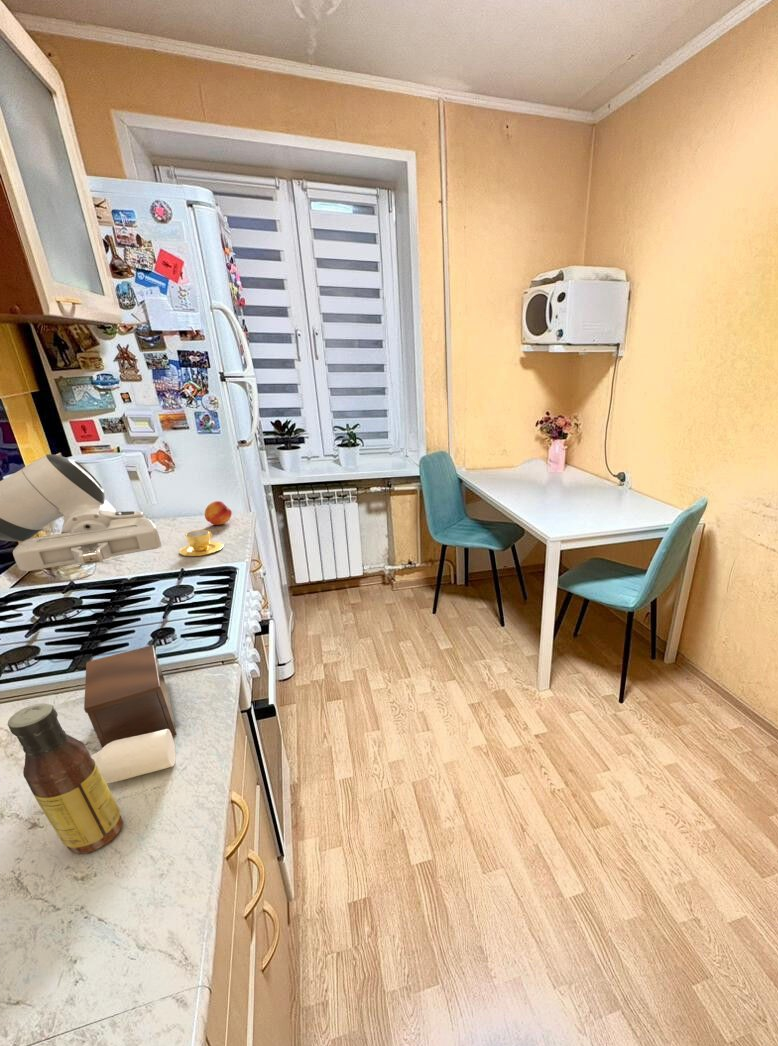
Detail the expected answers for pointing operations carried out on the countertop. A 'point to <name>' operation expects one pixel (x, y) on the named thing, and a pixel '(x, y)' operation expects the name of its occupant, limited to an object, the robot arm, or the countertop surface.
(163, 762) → the cream bottle
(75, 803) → the sauce bottle
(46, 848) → the countertop surface
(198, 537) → the cup
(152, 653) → the bread box lid
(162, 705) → the bread box
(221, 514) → the fruit
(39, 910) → the countertop surface
